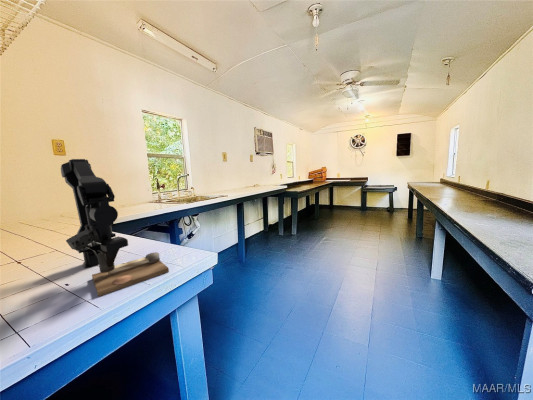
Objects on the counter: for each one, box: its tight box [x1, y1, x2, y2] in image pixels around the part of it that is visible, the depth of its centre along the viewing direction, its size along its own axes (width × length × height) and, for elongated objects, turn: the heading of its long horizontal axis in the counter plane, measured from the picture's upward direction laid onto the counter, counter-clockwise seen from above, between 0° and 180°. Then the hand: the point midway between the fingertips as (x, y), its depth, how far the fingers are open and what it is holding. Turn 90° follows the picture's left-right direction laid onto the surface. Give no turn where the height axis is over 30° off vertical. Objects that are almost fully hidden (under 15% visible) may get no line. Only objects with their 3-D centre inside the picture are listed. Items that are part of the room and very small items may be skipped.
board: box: [91, 260, 170, 297], centre depth 75 cm, size 15×20×2 cm
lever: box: [97, 251, 161, 274], centre depth 77 cm, size 18×4×8 cm, turn 134°
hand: (106, 265), depth 72 cm, fingers closed on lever, 4 cm apart
